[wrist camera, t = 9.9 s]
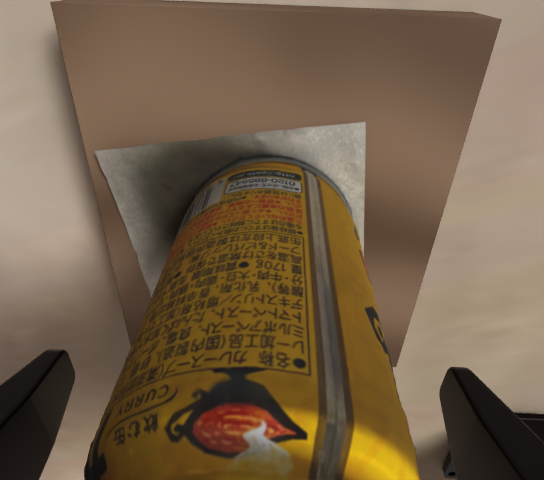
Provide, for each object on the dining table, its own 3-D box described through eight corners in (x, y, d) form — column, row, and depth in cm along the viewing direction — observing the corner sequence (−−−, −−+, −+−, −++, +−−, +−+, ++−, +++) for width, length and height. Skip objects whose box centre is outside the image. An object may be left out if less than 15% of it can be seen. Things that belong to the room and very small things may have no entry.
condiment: (363, 298, 16) (479, 811, 6) (158, 312, 17) (-18, 788, 7) (364, 119, 12) (676, 739, 2) (98, 146, 13) (-486, 706, 3)
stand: (387, 334, 20) (396, 367, 19) (145, 323, 20) (133, 355, 19) (473, 11, 12) (501, 19, 11) (81, -3, 13) (50, 1, 11)
